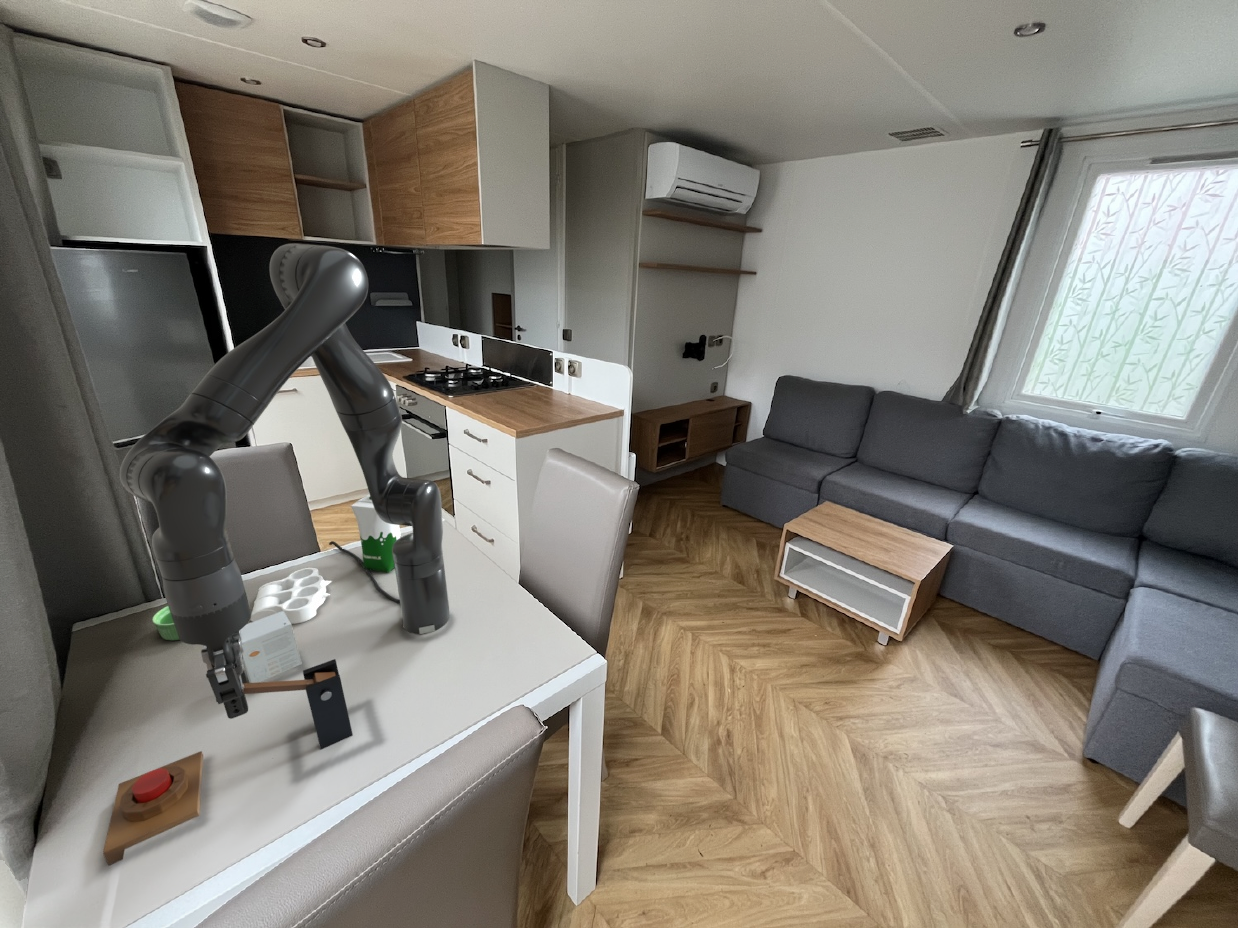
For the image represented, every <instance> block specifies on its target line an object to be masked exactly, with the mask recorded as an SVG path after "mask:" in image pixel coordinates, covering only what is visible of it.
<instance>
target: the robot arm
mask: <svg viewBox="0 0 1238 928" xmlns="http://www.w3.org/2000/svg"><path fill="white" fill-rule="evenodd" d="M269 276H270V282H271V284H272V287H273V290H274V292H275V295H276V296H277V298H278V299H279V302H280V303H281V306H282V307H283V309H284V311H282V313H281V314H280V315H279V316H278V317H276V318H274V320H273V321H272V322H271V323H269V324H268V325H267V326H265V327H264V328H263V329H261V330H260V331H258V332H257V333H255V334H254V335H252V336H251V337H249V338H248V339H246V340H245V341H243V342H241V343H239V344H238V345H237V346H235V347H234V348H233V349H231V350H230V351H229V352H227V353H226V354H225V355H224V356H222V357H221V358H220V359H219V360H218V361H217V362H215V364H214V365H213V366H212V367H211V368H210V369H209V371H208V372H207V373H206V374H205V375H204V376H203V378H202V379H201V380H200V381H199V382H198V384H197V385H196V386H195V387H194V389H193V390H192V391H191V392H190V394H189V395H188V396H187V398H186V399H185V400H184V402H183V403H182V404H181V405H180V406H179V407H178V408H177V409H176V410H174V411H173V412H171V413H170V414H168V415H167V416H166V417H164V418H163V419H162V420H160V422H158V423H157V424H156V425H154V427H153V428H152V429H150V430H149V431H147V432H146V433H145V434H144V435H143V436H141V438H139V439H138V440H137V442H135V444H133V446H132V447H131V448H130V449H129V450H128V452H127V454H126V455H125V456H124V457H123V459H122V462H121V464H120V467H119V481H120V483H121V485H122V487H123V488H124V490H125V491H126V492H128V493H129V494H131V495H132V496H134V497H135V498H138V499H141V500H144V501H146V502H148V503H151V504H152V505H153V507H154V510H155V513H156V516H157V520H158V521H157V522H158V525H159V527H157V529H156V530H154V532H153V534H152V536H151V546H152V550H153V551H152V552H153V554H154V558H155V561H156V564H157V566H158V569H159V573H160V576H161V579H162V587H163V588H162V589H163V594H164V597H165V600H166V603H167V606H168V607H169V610H170V613H171V616H172V619H173V622H174V625H175V628H176V631H177V634H178V637H179V639H180V640H179V641H181V642H182V643H184V644H188V645H192V646H193V645H197V646H198V645H199V646H200V645H201V646H202V647H203V648H202V649H200V654H201V658H202V662H203V663H204V664H205V665H206V669H207V670H206V674H205V676H206V677H205V678H206V679H207V680H208V682H209V685H210V687H211V689H212V692H213V694H214V697H215V702H216V703H217V705H221V704H223V706H224V710H225V713H226V716H227V718H228V719H231V720H232V719H234V718H237V717H240V716H243V715H246V714H247V713H248V712H249V704H248V701H247V698H246V694H244V690H243V688H244V684H242V683H249V680H248V678H247V675H246V671H245V668H244V665H243V659H244V657H243V656H242V653H243V652H244V650H243V643H242V641H241V640H242V638H241V631H240V630H241V629H242V628H243V627H244V626H245V625H246V624H249V623H250V621H251V620H250V618H251V614H252V611H251V606H250V603H249V599H248V596H247V592H246V587H245V585H244V580H243V576H242V573H241V570H240V567H239V566H238V563H237V561H236V559H235V556H234V552H233V549H232V545H231V541H230V537H229V535H228V531H227V528H226V527H227V526H226V525H227V517H228V516H227V515H228V507H227V506H228V497H227V496H228V491H227V483H226V479H225V476H224V474H223V472H222V469H221V468H220V466H219V465H218V464H217V462H216V461H215V460H214V459H213V457H211V456H212V455H213V454H214V453H215V452H216V451H217V450H218V449H219V448H220V447H221V446H223V445H226V444H230V443H236V442H239V441H241V440H242V439H244V438H245V437H246V435H248V433H249V432H250V431H251V429H252V428H253V427H254V425H255V424H256V423H257V422H258V420H259V418H261V416H262V415H263V413H264V412H265V411H266V409H267V408H268V407H269V405H270V404H271V402H272V401H273V399H274V398H275V397H276V395H277V394H278V393H279V391H280V390H281V389H282V388H283V387H284V385H285V384H286V383H287V382H288V381H289V379H290V378H291V377H292V376H293V375H294V374H295V373H296V372H297V370H299V368H300V367H301V366H303V364H304V363H305V362H306V361H307V360H308V359H310V357H311V358H312V361H313V363H314V365H315V367H316V370H317V372H318V374H319V376H320V378H321V380H322V382H323V385H324V386H325V388H326V391H327V393H328V395H329V398H330V400H331V403H332V405H333V408H334V410H335V412H336V415H337V417H338V419H339V421H340V424H341V425H342V428H343V429H344V431H345V433H346V435H347V437H348V440H349V442H350V444H351V447H352V448H353V451H354V453H355V456H356V458H357V461H358V463H359V466H360V468H361V471H362V474H363V478H364V481H365V483H366V487H367V490H368V494H370V497H371V500H372V503H373V506H374V508H375V511H376V513H377V515H378V516H379V518H380V519H381V520H383V521H384V522H386V523H389V524H395V525H399V526H403V527H411V528H412V532H410V533H407V534H405V535H401V538H399V539H398V540H397V541H395V543H394V544H393V546H392V554H393V560H394V571H395V577H396V584H397V590H398V598H396V597H394V596H392V595H391V594H389V593H387V592H386V591H385V590H384V589H382V588H381V587H380V585H379V583H378V582H377V580H376V579H375V577H374V576H373V574H372V572H371V570H369V569H368V568H367V567H365V568H364V566H363V559H361V558H360V557H359V556H357V555H356V554H354V552H351V551H349V550H347V549H346V548H344V549H342V548H343V547H342V546H341V545H339V544H338V543H337V542H336V541H334V540H331V541H330V542H329V543H328V545H329V546H334V547H336V549H338V550H339V551H341V552H342V553H345V554H347V555H348V556H350V557H352V558H353V559H355V560H356V561H357V562H358V563H359V564H360V565H361V566H362V568H363V570H364V569H365V570H364V571H365V572H366V573H367V575H368V578H369V579H370V580H371V582H372V584H373V586H374V587H375V589H376V590H377V591H378V592H379V593H380V594H382V595H383V596H384V597H385V598H387V599H388V600H390V601H392V602H395V603H397V604H399V605H400V611H401V616H402V617H401V618H402V623H403V625H402V627H403V628H404V629H405V631H406V632H409V633H411V634H415V635H423V634H424V635H425V634H430V633H433V632H436V631H437V630H440V629H441V628H443V627H444V626H445V625H446V624H448V622H449V620H450V618H451V614H450V612H451V611H450V604H449V603H450V602H449V595H448V586H447V578H446V569H445V561H444V560H445V559H444V553H443V552H444V551H443V535H444V526H443V525H444V524H443V508H442V507H443V506H442V505H443V504H442V495H441V491H440V488H439V486H438V485H437V483H436V482H435V481H433V480H431V479H424V478H412V477H405V476H404V477H403V476H402V475H400V473H399V472H398V469H397V467H396V464H395V462H394V461H395V460H394V458H393V454H394V450H395V447H396V445H397V442H398V439H399V437H400V434H401V430H402V427H403V426H402V425H403V417H402V413H401V409H400V406H399V404H398V401H397V398H396V396H395V393H394V390H393V387H392V385H391V383H390V382H389V380H388V378H387V377H386V376H385V375H384V373H383V371H382V370H381V369H380V368H379V366H378V365H377V364H376V363H375V361H373V360H372V359H371V357H370V356H369V354H367V353H366V352H365V351H364V349H363V348H362V346H360V344H359V343H358V342H357V341H356V339H355V338H354V337H353V335H352V334H351V332H350V330H349V328H348V325H347V324H346V322H348V321H349V320H350V319H351V318H352V317H353V316H354V315H355V314H356V313H357V312H358V311H359V309H360V308H361V307H362V306H363V304H364V303H365V300H366V299H367V296H368V292H369V286H370V285H369V278H368V273H367V271H366V269H365V266H364V264H363V263H362V261H361V260H360V259H359V257H357V256H356V255H355V254H353V253H351V252H350V251H349V250H346V249H344V248H340V247H336V246H330V245H322V244H321V245H320V244H310V243H297V242H296V243H295V242H294V243H285V244H282V245H280V246H279V247H277V248H276V249H275V250H274V252H273V254H272V255H271V257H270V261H269Z"/></svg>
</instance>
